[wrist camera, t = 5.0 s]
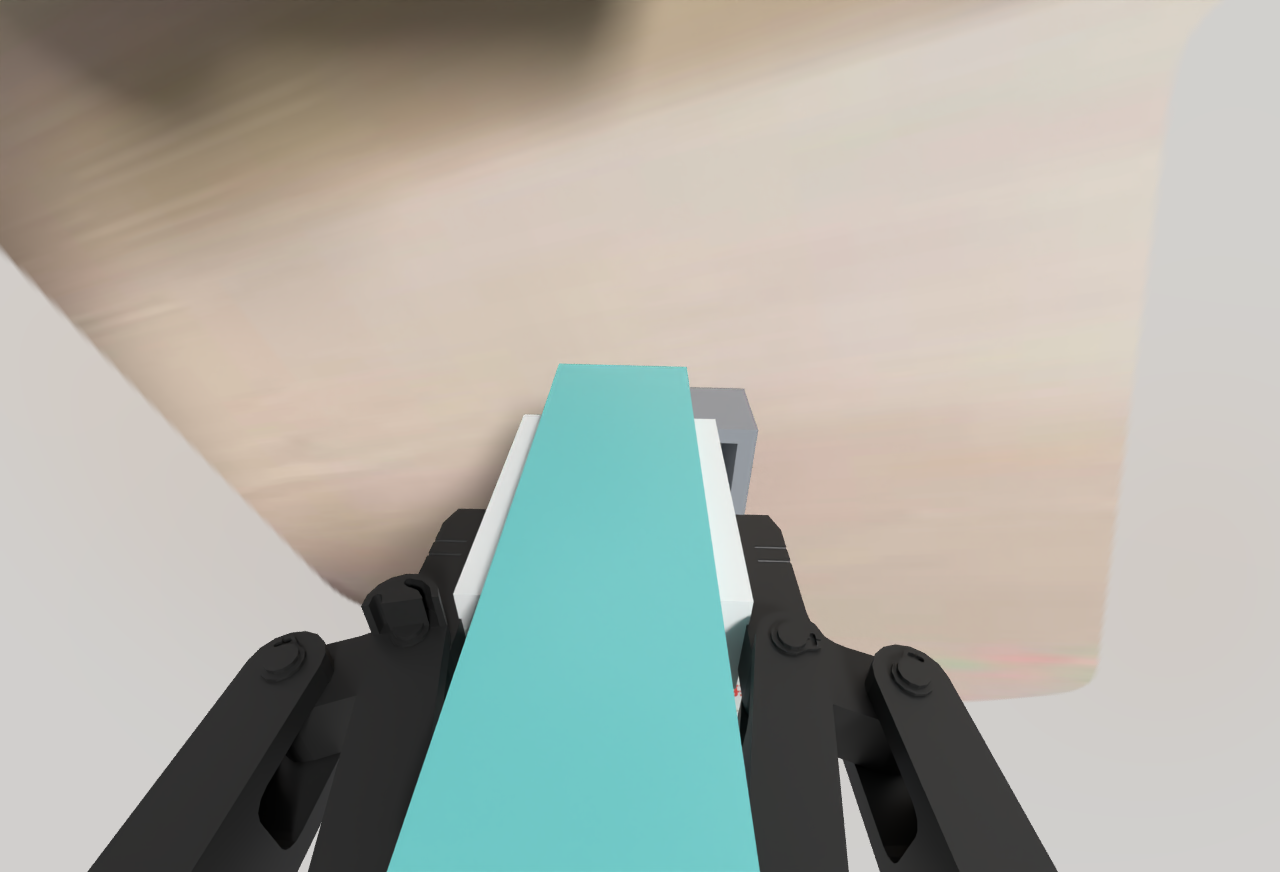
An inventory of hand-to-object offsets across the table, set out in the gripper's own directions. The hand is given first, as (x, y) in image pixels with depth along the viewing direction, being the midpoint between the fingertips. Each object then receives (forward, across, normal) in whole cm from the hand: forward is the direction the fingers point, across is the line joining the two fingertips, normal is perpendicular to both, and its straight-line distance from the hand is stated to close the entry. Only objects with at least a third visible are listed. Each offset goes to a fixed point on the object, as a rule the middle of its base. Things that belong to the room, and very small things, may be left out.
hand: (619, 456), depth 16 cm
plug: (+2, 0, 0) cm, 2 cm away
